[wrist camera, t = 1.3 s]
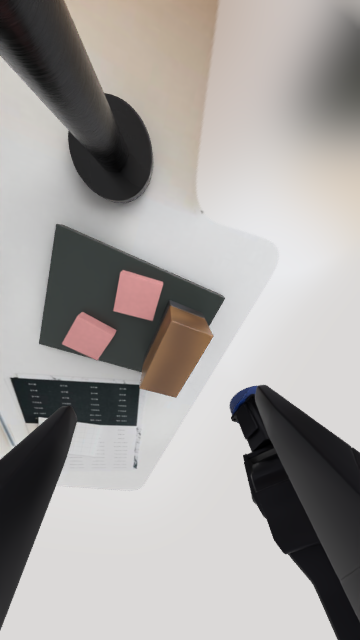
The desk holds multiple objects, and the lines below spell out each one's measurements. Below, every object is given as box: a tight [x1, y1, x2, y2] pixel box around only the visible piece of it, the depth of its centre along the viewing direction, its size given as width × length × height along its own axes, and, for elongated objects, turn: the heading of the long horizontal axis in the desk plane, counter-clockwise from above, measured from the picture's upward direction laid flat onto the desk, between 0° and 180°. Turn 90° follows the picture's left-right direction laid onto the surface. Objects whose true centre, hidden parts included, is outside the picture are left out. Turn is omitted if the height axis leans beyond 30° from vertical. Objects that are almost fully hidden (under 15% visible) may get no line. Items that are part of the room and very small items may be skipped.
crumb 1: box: [62, 312, 117, 360], centre depth 19 cm, size 4×4×1 cm
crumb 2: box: [113, 270, 163, 321], centre depth 17 cm, size 4×4×1 cm
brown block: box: [139, 300, 213, 397], centre depth 18 cm, size 4×8×5 cm, turn 156°
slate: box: [39, 224, 225, 372], centre depth 20 cm, size 17×13×1 cm
